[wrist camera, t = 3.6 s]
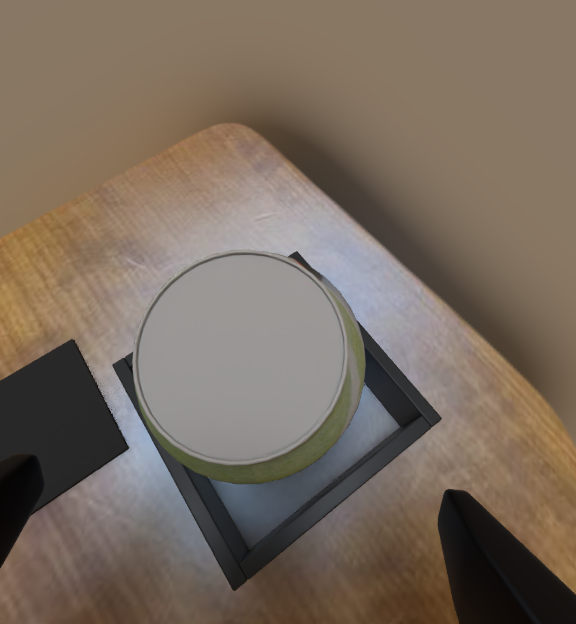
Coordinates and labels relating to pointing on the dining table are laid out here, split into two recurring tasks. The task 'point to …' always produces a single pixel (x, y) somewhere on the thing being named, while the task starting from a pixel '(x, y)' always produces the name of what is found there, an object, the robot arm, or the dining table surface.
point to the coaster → (58, 420)
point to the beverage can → (248, 366)
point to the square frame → (246, 563)
